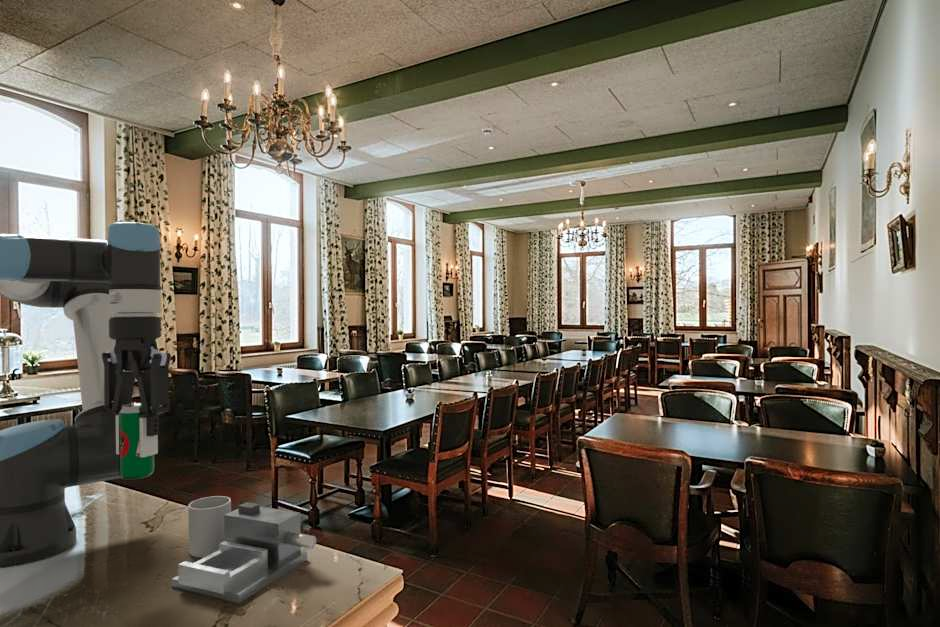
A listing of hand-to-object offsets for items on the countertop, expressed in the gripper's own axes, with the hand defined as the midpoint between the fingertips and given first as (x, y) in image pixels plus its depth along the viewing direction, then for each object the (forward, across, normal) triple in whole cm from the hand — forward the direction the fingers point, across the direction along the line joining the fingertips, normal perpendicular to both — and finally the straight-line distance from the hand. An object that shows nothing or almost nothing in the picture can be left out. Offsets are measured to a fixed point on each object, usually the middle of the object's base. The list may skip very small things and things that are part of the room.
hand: (136, 453), depth 93 cm
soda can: (+4, 0, 0) cm, 4 cm away
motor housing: (+21, +16, +7) cm, 27 cm away
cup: (+21, +2, +12) cm, 24 cm away
